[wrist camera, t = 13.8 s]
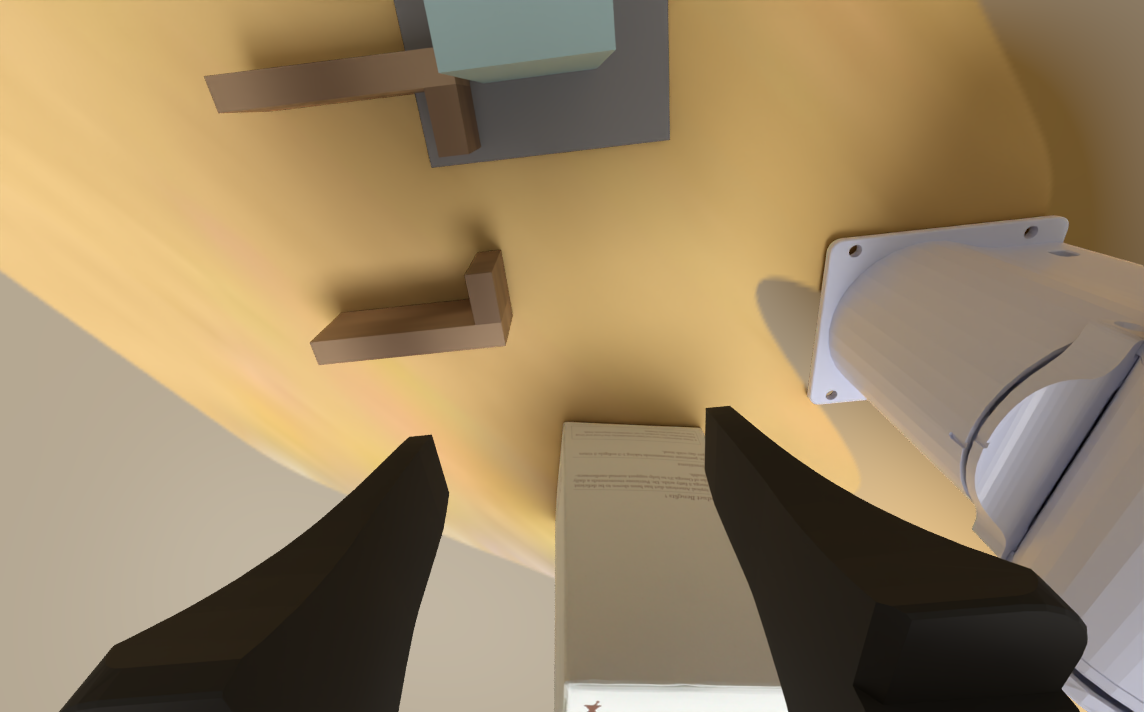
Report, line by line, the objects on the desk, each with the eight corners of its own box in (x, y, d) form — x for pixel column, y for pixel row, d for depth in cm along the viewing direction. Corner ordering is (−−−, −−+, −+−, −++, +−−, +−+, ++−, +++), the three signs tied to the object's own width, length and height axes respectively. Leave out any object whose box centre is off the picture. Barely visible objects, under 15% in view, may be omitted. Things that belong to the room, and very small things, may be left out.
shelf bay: (466, 54, 17) (448, 45, 14) (512, 316, 22) (505, 346, 19) (258, 80, 17) (203, 76, 15) (348, 333, 22) (318, 365, 19)
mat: (662, -194, 14) (665, -202, 14) (667, 139, 18) (669, 140, 18) (363, -152, 15) (357, -158, 14) (434, 166, 19) (431, 167, 18)
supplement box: (552, 524, 28) (545, 810, 17) (562, 416, 24) (561, 685, 13) (680, 530, 28) (758, 814, 17) (707, 425, 25) (827, 694, 13)
